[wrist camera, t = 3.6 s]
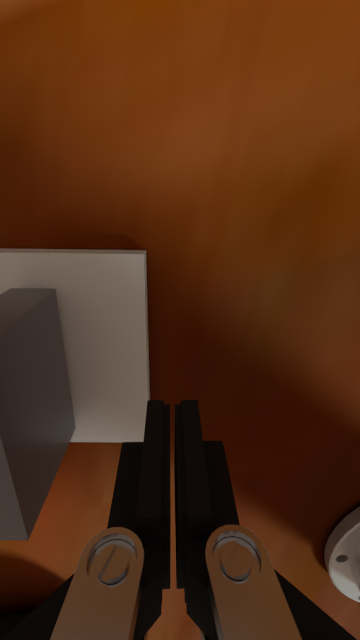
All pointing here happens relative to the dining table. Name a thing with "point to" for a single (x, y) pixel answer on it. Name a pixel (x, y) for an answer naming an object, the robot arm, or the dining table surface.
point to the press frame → (96, 332)
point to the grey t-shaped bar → (31, 406)
